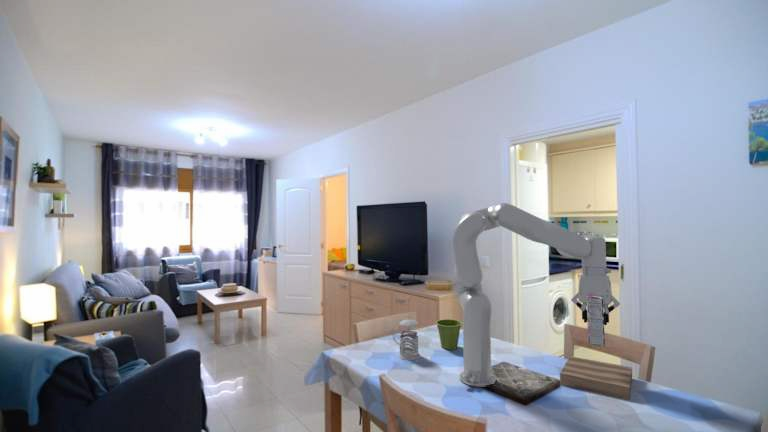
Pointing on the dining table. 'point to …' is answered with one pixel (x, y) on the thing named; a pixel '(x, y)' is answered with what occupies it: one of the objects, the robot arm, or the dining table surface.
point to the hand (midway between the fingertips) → (595, 322)
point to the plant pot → (449, 332)
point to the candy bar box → (595, 320)
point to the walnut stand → (597, 377)
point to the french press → (408, 340)
